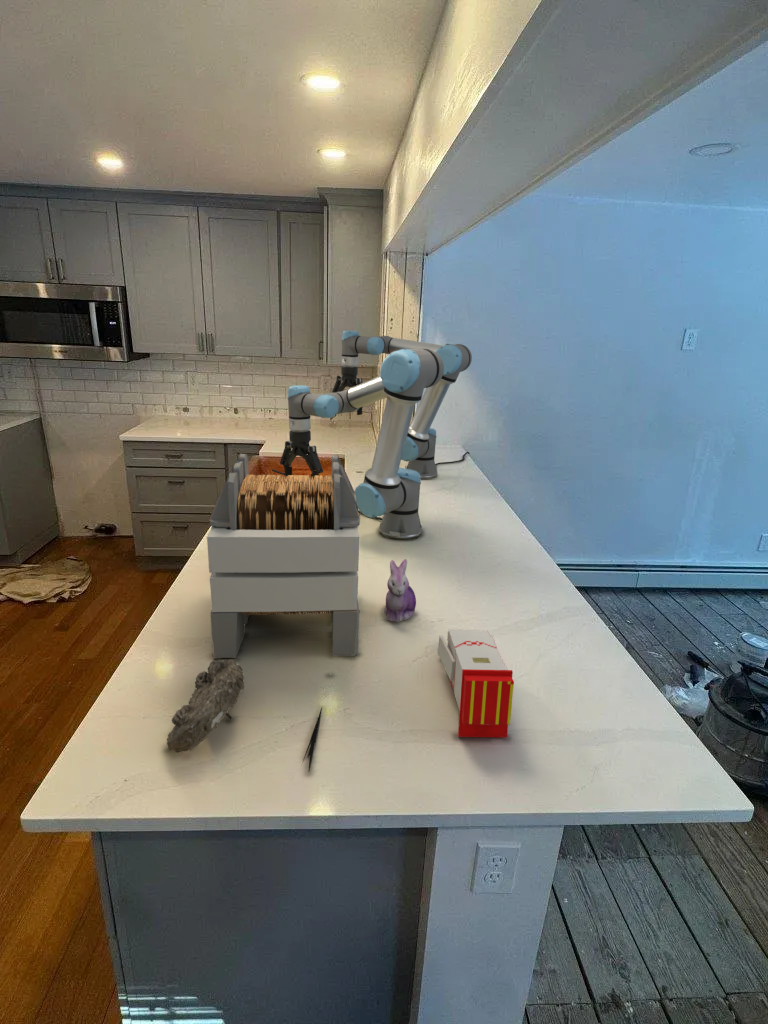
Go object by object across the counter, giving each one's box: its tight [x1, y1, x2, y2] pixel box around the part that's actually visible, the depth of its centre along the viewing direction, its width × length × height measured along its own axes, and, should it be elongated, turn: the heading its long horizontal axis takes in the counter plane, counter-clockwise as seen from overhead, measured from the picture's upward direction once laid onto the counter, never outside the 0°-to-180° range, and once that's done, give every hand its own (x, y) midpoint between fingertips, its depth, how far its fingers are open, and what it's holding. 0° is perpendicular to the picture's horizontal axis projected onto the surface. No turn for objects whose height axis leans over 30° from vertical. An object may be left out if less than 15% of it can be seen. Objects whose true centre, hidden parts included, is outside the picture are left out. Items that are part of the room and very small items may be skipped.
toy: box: [437, 628, 515, 738], centre depth 117 cm, size 12×13×30 cm
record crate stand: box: [206, 452, 361, 660], centre depth 135 cm, size 34×33×41 cm
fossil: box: [166, 658, 245, 754], centre depth 106 cm, size 22×10×15 cm
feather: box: [301, 673, 332, 771], centre depth 108 cm, size 2×28×2 cm
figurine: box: [384, 558, 417, 623], centre depth 145 cm, size 9×10×15 cm
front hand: (301, 487), depth 208 cm, fingers open, 13 cm apart
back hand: (348, 412), depth 266 cm, fingers open, 13 cm apart
